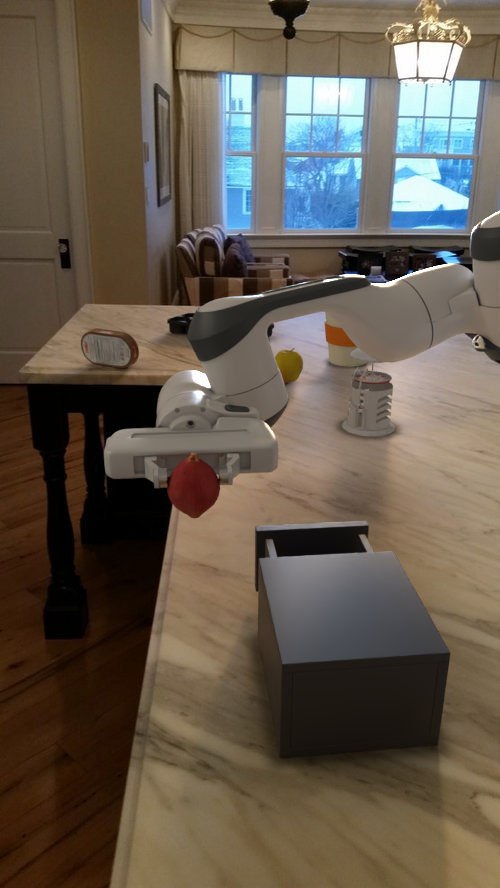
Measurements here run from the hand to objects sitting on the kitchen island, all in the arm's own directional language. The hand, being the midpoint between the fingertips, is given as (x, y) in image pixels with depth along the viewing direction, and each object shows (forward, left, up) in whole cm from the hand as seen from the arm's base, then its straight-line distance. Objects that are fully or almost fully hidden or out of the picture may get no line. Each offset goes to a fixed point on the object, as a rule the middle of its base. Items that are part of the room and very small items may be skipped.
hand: (193, 480), depth 77 cm
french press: (-33, -48, -14) cm, 60 cm away
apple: (-23, -77, -14) cm, 82 cm away
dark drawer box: (-13, +18, -14) cm, 26 cm away
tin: (+17, -94, -14) cm, 97 cm away
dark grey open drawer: (-13, +8, -13) cm, 20 cm away
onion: (0, -1, -5) cm, 5 cm away
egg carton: (-11, -122, -14) cm, 124 cm away
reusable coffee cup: (-40, -92, -14) cm, 102 cm away
